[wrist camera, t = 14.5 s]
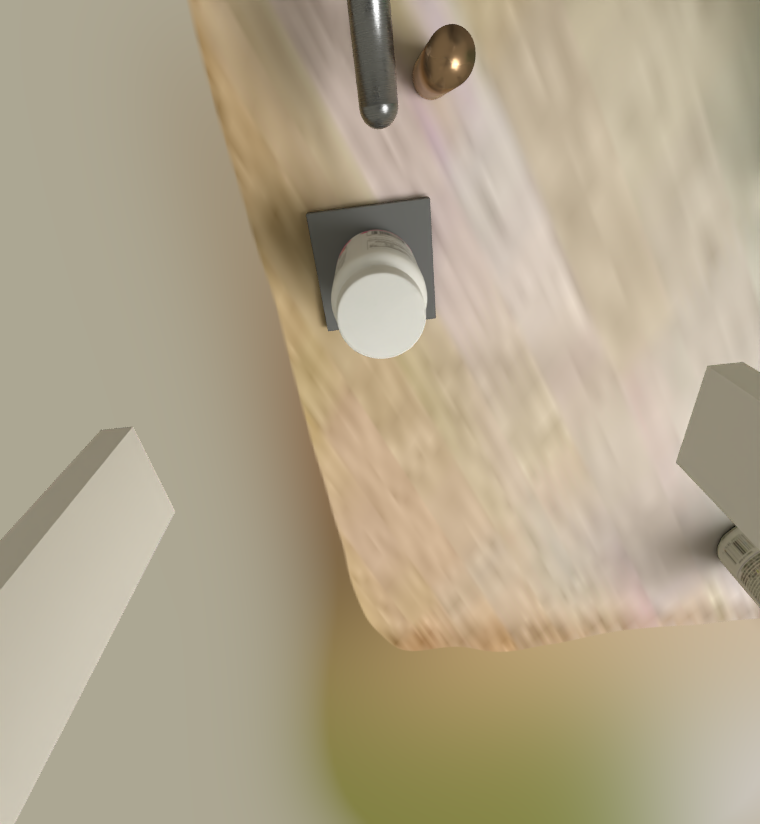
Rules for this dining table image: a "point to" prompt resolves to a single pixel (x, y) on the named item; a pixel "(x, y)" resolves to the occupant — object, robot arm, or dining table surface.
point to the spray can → (741, 561)
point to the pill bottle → (379, 295)
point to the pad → (345, 223)
